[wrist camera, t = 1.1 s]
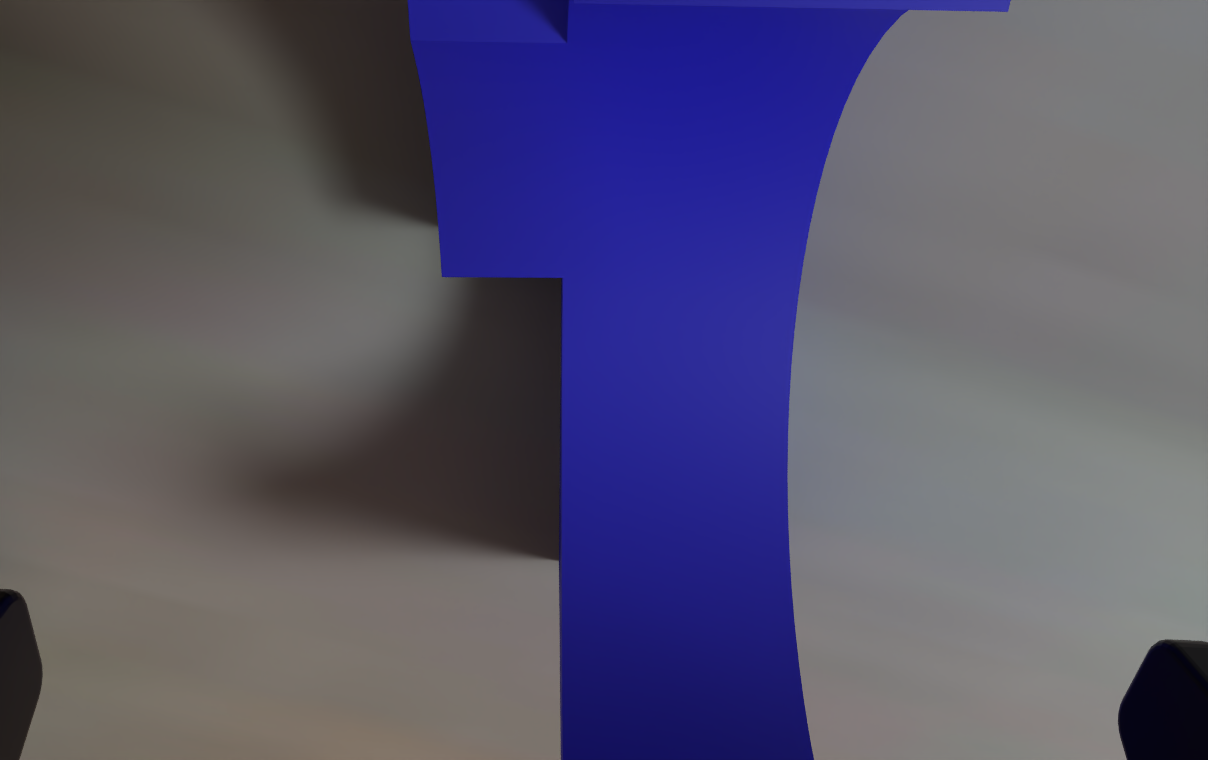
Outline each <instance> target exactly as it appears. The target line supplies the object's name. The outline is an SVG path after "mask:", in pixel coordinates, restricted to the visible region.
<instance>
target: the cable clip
mask: <svg viewBox="0 0 1208 760" xmlns="http://www.w3.org/2000/svg"><path fill="white" fill-rule="evenodd" d="M1010 1H1011V0H408V11H409V26H410V41H411V44H412V48H413V53H414V57H415V61H416V65H417V70H418V75H419V80H420V85H421V90H422V96H423V101H424V108H425V114H426V120H427V127H428V134H429V142H430V149H431V157H432V166H433V175H434V184H435V194H436V205H437V216H438V227H439V241H440V255H441V270H442V277H512V278H561V395H560V512H559V606H560V716H561V760H814V758H813V752H812V747H811V742H810V736H809V730H808V724H807V718H806V711H805V705H804V699H803V691H802V684H801V676H800V669H799V661H798V652H797V642H796V633H795V624H794V612H793V600H792V588H791V572H790V555H789V531H788V487H787V462H788V417H789V394H790V378H791V363H792V351H793V340H794V329H795V320H796V311H797V303H798V294H799V287H800V281H801V274H802V267H803V260H804V255H805V249H806V243H807V238H808V232H809V227H810V222H811V218H812V213H813V209H814V204H815V199H816V195H817V191H818V187H819V183H820V179H821V176H822V172H823V168H824V164H825V161H826V158H827V154H828V151H829V148H830V145H831V142H832V138H833V135H834V132H835V130H836V127H837V124H838V121H839V119H840V116H841V113H842V111H843V108H844V105H845V103H846V101H847V99H848V96H849V94H850V92H851V90H852V88H853V85H854V83H855V81H856V79H857V77H858V75H859V73H860V72H861V70H862V68H863V66H864V64H865V62H866V61H867V59H868V57H869V55H870V54H871V52H872V51H873V49H874V48H875V47H876V45H877V44H878V42H879V41H880V39H881V38H882V37H883V35H884V34H885V32H886V31H887V30H888V29H889V28H890V27H891V26H892V25H893V24H894V23H895V22H896V21H897V20H898V18H899V17H900V16H901V15H903V14H904V13H905V12H907V11H908V10H945V11H998V12H1008V9H1009V5H1010Z"/></svg>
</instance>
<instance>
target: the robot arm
mask: <svg viewBox="0 0 1208 760" xmlns="http://www.w3.org/2000/svg"><path fill="white" fill-rule="evenodd" d="M42 675H43V674H42V662H41V658H40V654H39V650H38V646H37V642H36V639H35V635H34V631H33V627H32V623H31V619H30V615H29V611H28V608H27V604H26V602H25V599H24V598H23V596H22V595H21V594H20V593H19V592H17V591H14V590H11V589H0V760H19V759H20V756H21V753H22V749H23V746H24V743H25V740H26V737H27V734H28V730H29V727H30V724H31V721H32V718H33V715H34V711H35V708H36V705H37V702H38V699H39V695H40V691H41V685H42ZM1118 726H1119V733H1120V738H1121V741H1122V744H1123V748H1124V751H1125V755H1126V758H1127V760H1208V642H1203V641H1190V640H1161V641H1159V642H1157V643H1156V644H1154V645H1153V646H1152V647H1151V648H1150V650H1149V651H1148V653H1147V655H1146V657H1145V658H1144V660H1143V662H1142V664H1141V666H1140V668H1139V670H1138V672H1137V673H1136V675H1135V677H1134V679H1133V681H1132V683H1131V685H1130V687H1129V688H1128V690H1127V692H1126V694H1125V696H1124V698H1123V700H1122V702H1121V704H1120V709H1119V714H1118Z"/></svg>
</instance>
